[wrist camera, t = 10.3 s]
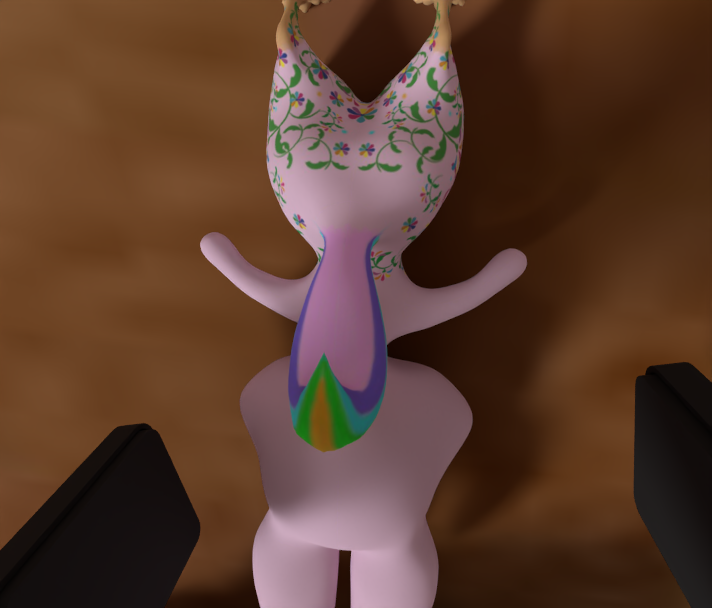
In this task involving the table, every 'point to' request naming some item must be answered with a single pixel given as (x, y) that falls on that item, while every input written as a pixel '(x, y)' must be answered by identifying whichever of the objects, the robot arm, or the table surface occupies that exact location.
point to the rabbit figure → (356, 328)
